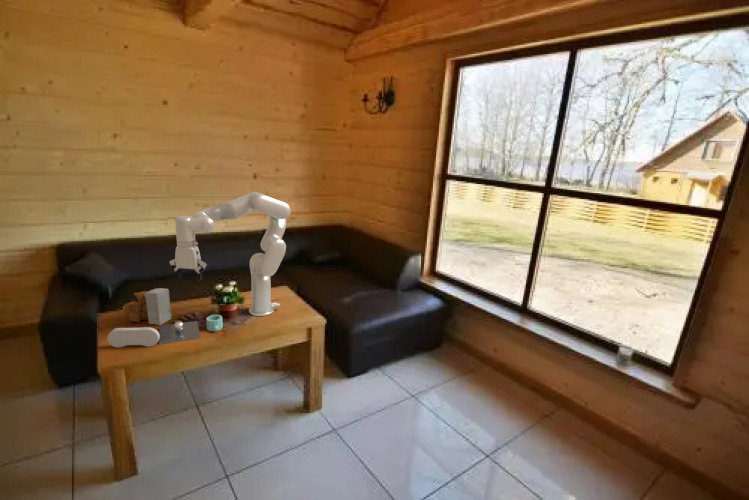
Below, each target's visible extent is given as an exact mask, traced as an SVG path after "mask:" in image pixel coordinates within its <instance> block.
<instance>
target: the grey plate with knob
mask: <svg viewBox="0 0 749 500" xmlns="http://www.w3.org/2000/svg"><path fill="white" fill-rule="evenodd" d="M199 327H200V326H199V322H198V320H194V321H186V322H183V321H180V320H179V321H178V320H177V321H175V322H174V323H172V324H166V325H159V331H158V332H159V334H160V339H159V341H158V344H159V345H162V344H168V343H175V342H182V341H188V340H193V339H194V340H195V339H200V338H201V334H200V329H199Z"/></svg>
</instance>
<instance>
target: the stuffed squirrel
mask: <svg viewBox="0 0 749 500" xmlns="http://www.w3.org/2000/svg"><path fill="white" fill-rule="evenodd" d="M146 292H147V291H145V290H144V291H143V290H142V291H140V292H134V293H133V295H134V296H135V297H136V299H137V301H135V300H134V301H133V300H132V301H131V302H127V303H125V304H124V305H123V307H121V308H122V311H123V313H124V314H126V315H127V316H128V319H129V321H132V322H134V323H139V322H141V321H143V320H144V321H145V320H146V321H148V312H147V304H146V295H145V293H146Z"/></svg>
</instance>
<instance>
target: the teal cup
mask: <svg viewBox="0 0 749 500" xmlns="http://www.w3.org/2000/svg"><path fill="white" fill-rule="evenodd" d="M223 324H224V323H223V316H222V315H220V314H211V315H209V316H207V317H206V329H207V331H210V332H217V331H220V330H221V329H222V328H223V327H224V326H223Z"/></svg>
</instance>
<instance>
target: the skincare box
mask: <svg viewBox="0 0 749 500" xmlns="http://www.w3.org/2000/svg"><path fill="white" fill-rule="evenodd" d="M145 295H146V304H147V312H148V320H147V321H148V324H150V325H156V326H163V324H165V323H166V322H169V321H170V320H171V319H172V309H171V301H170V290H169V289H168V288H161V287H157V288H154V289H150V290H149V291H146V293H145Z"/></svg>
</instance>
